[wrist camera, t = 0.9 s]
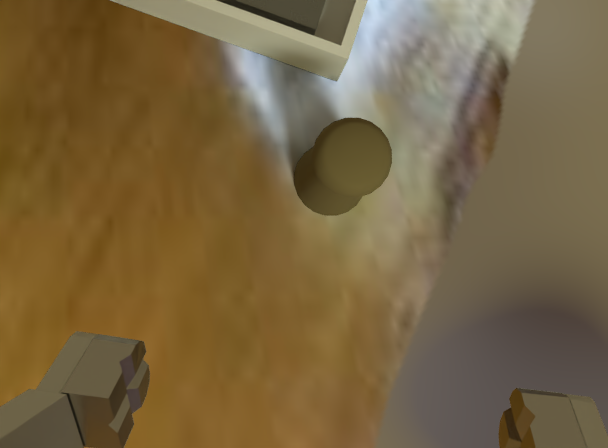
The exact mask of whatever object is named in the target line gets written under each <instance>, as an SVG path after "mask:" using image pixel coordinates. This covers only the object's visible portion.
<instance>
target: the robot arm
mask: <svg viewBox="0 0 608 448" xmlns="http://www.w3.org/2000/svg"><path fill="white" fill-rule="evenodd" d="M145 353H146V349H145V345H144V342H143V341H139V340H132V339H126V338H120V337H113V336H107V335H100V334H93V333H86V332H78V331H77V332H75V333H74V334H73V335H72V336H70V338H69V339H68V341H67V342H66V344H65V345H64V347H63V348H62V350H61V352H60V353H59V355H58V356H57V358H56V359H55V361H54V362H53V364H52V365H51V367H50V368H49V370H48V371H47V373H46V375H45V376H44V378H43V379H42V381H41V382H40V384H39V385H38V387H37V388H36V390H33V389H28V390H27V391H25V392H24V393H22V394H20V395H19V396H17V397H15V398H14V399H12V400H11V401H9V402H7V403H6V404H4V405H3V406H1V407H0V448H84V447H91V448H124V446H125V444H126V441H127V439H128V437H129V434H130V432H131V430H132V428H133V425H134V421H133V417H132V413H134V412H135V411H136V410H138V409H139V408H140V407H142V405H143V402H144V400H145V397H146V395H147V390H148V386H149V380H150V371H149V365H148V364H147V363H146V362H145V361H144V360H143V357H144V355H145ZM510 404H511V408H509V409H508V410H506V411H504V412H503V415H502V418H501V420H500V426H499V446H500V448H608V435H607V432H606V430H605V427H604V425H603V422H602V420H601V417H600V415H599V412H598V409H597V407H596V404H595V402H594V401H593V400H592V399H591V398H590V397H584V396H577V395H569V394H562V393H556V392H547V391H538V390H530V389H521V388H516V389H515V390H514V391H513V392H512V394H511V396H510Z"/></svg>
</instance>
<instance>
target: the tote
mask: <svg viewBox="0 0 608 448" xmlns="http://www.w3.org/2000/svg"><path fill="white" fill-rule="evenodd" d="M110 1H113V2H116V3H119V4H122V5H124V6H127V7H130V8H133V9H136V10H138V11H141V12H144V13H147V14H150V15H152V16H155V17H158V18H161V19H163V20H166V21H169V22H172V23H175V24H177V25H180V26H183V27H186V28H189V29H191V30H194V31H197V32H200V33H203V34H205V35H208V36H211V37H214V38H217V39H219V40H222V41H225V42H228V43H231V44H233V45H236V46H239V47H242V48H245V49H247V50H250V51H253V52H256V53H259V54H261V55H264V56H267V57H270V58H273V59H275V60H278V61H281V62H284V63H287V64H289V65H292V66H295V67H298V68H300V69H303V70H306V71H309V72H312V73H314V74H317V75H320V76H323V77H326V78H328V79H331V80H334V81H338V79H339V77H340V75H341V73H342V71H343V69H344V66H345V64H346V62H347V60H348V58H349V55H350V52H351V49H352V46H353V43H354V40H355V37H356V34H357V30H358V27H359V24H360V21H361V18H362V15H363V12H364V9H365V6H366V3H367V0H326V2H325V5H324V8H323V11H322V14H321V17H320V20H319V23H318V26H317V29H316V32H315V35H314V36H313V35H310V34H308V33H305V32H302V31H299V30H297V29H294V28H291V27H288V26H286V25H283V24H280V23H277V22H275V21H272V20H269V19H266V18H264V17H261V16H258V15H255V14H253V13H250V12H247V11H244V10H242V9H239V8H236V7H233V6H231V5H228V4H225V3H222V2H220V1H217V0H110Z"/></svg>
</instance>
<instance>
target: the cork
mask: <svg viewBox="0 0 608 448" xmlns="http://www.w3.org/2000/svg"><path fill="white" fill-rule="evenodd" d="M391 164H392V150H391V147H390V144H389V141H388V138H387V137H386V136H385V134H384V133H383V132H382V130H381V129H380V128H379V127H377V126H376V125H374V124H373V123H372V122H370V121H367V120H364V119H361V118H344V119H341V120H338V121H335V122H333V123H331V124H330V125H329V126H327V127H326V128H324V129H323V131H322V132H321V134H320V135H319V136H318V138H317V139H316V142H315V145H314V147H312V148H311V149H310V150H308V151H307V152H306V153H304V155H303V156H302V157H301V159H300V160H299V161H298V163H297V166H296V170H295V173H294V185H295V188H296V191H297V194H298V196H299V198H300V199H301V200H302V202H303V203H304V205H305V206H307V207H308V208H310V209H311V210H312V211H314V212H316V213H319V214H322V215H339V214H342V213H345V212H348V211H349V210H351V209H352V208H353V207H355V206H356V205H357V204H358V202H359V201H360V199H361V198H362V196H364V195H367V194H370V193H372V192H373V191H374V190H376V189H377V188H378V187H380V186H381V185H382V184H383V182H384V181H385V179H386V178H387V176H388V174H389V171H390V167H391Z"/></svg>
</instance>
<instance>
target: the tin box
mask: <svg viewBox="0 0 608 448" xmlns="http://www.w3.org/2000/svg"><path fill="white" fill-rule="evenodd" d="M217 1H220V2H222V3H225V4H228V5H231V6H233V7H236V8H239V9H242V10H244V11H247V12H250V13H253V14H255V15H258V16H261V17H264V18H266V19H269V20H272V21H275V22H277V23H280V24H283V25H286V26H288V27H291V28H294V29H297V30H299V31H302V32H305V33H308V34H310V35H313V36H314V35H315V32H316V29H317V26H318V23H319V20H320V17H321V14H322V11H323V8H324V5H325V2H326V0H217Z"/></svg>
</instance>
